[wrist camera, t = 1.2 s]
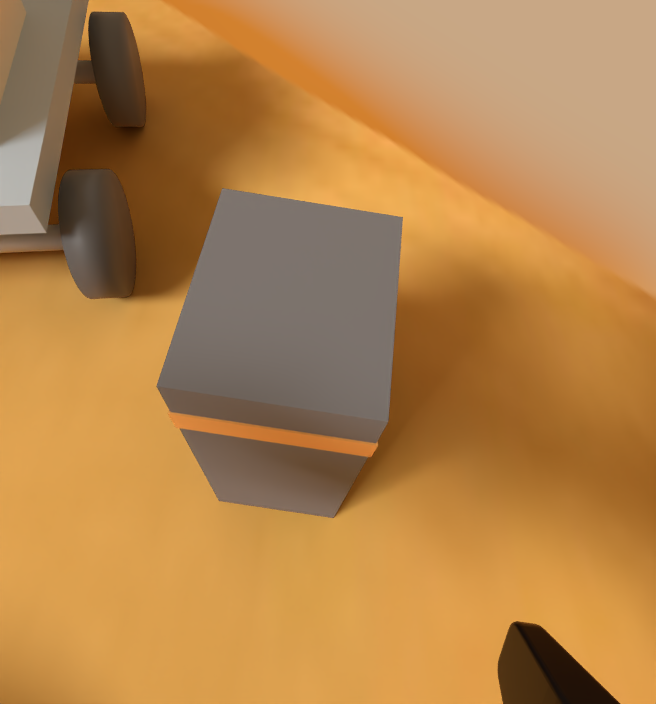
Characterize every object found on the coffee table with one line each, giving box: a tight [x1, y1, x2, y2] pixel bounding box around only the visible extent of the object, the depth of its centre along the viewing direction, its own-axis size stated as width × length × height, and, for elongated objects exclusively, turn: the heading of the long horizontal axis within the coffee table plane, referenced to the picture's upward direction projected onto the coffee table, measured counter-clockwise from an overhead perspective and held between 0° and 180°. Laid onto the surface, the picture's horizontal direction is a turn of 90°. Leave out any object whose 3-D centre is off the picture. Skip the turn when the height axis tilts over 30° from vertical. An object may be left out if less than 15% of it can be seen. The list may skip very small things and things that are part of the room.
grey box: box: [157, 188, 403, 518], centre depth 18 cm, size 9×5×12 cm, turn 172°
